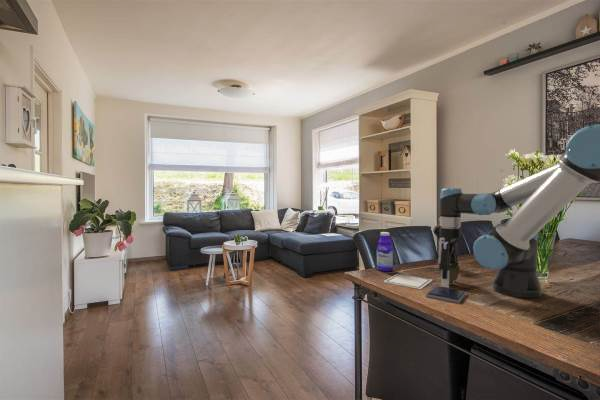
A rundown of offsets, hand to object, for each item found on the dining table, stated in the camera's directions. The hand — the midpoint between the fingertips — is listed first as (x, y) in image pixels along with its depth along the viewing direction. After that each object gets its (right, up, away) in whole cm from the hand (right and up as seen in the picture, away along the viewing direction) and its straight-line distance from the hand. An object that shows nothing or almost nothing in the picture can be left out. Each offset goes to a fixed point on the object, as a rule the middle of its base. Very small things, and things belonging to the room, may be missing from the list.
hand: (448, 283), depth 131 cm
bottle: (-20, +1, +22) cm, 29 cm away
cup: (0, 0, 0) cm, 0 cm away
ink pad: (-7, -1, -14) cm, 15 cm away
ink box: (+10, +1, +24) cm, 26 cm away
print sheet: (-15, 0, +4) cm, 15 cm away
